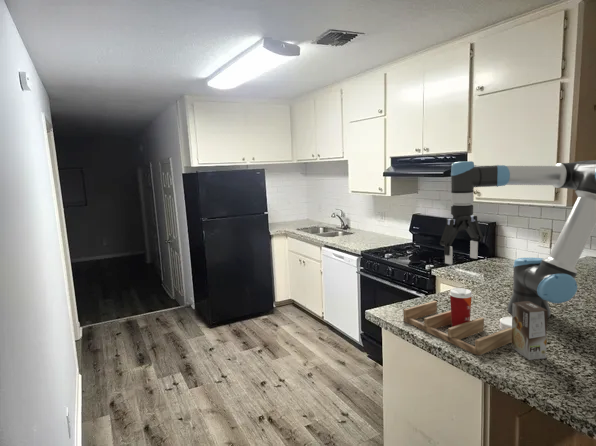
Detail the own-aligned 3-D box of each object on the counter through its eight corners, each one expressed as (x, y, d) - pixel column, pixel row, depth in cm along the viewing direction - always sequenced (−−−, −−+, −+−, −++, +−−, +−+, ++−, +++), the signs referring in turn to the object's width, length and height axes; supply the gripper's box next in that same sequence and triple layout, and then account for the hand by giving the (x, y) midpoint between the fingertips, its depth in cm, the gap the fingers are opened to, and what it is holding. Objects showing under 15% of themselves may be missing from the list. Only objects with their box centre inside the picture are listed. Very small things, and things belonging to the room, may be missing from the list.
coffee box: (547, 358, 123) (549, 310, 121) (528, 360, 123) (530, 312, 121) (527, 345, 132) (529, 300, 130) (510, 347, 132) (511, 302, 130)
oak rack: (512, 342, 135) (512, 328, 135) (478, 355, 127) (478, 341, 127) (434, 311, 166) (434, 300, 165) (403, 321, 158) (403, 309, 157)
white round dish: (502, 334, 142) (502, 325, 141) (496, 323, 151) (497, 315, 151) (533, 336, 139) (533, 327, 138) (525, 325, 148) (525, 317, 148)
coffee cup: (474, 333, 143) (475, 294, 141) (451, 332, 145) (451, 294, 143) (469, 324, 152) (469, 287, 149) (447, 323, 153) (447, 287, 151)
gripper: (476, 200, 150) (475, 254, 153) (429, 206, 139) (429, 264, 142) (493, 201, 144) (492, 257, 147) (446, 208, 132) (445, 268, 135)
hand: (461, 260), depth 144 cm, fingers open, 13 cm apart
